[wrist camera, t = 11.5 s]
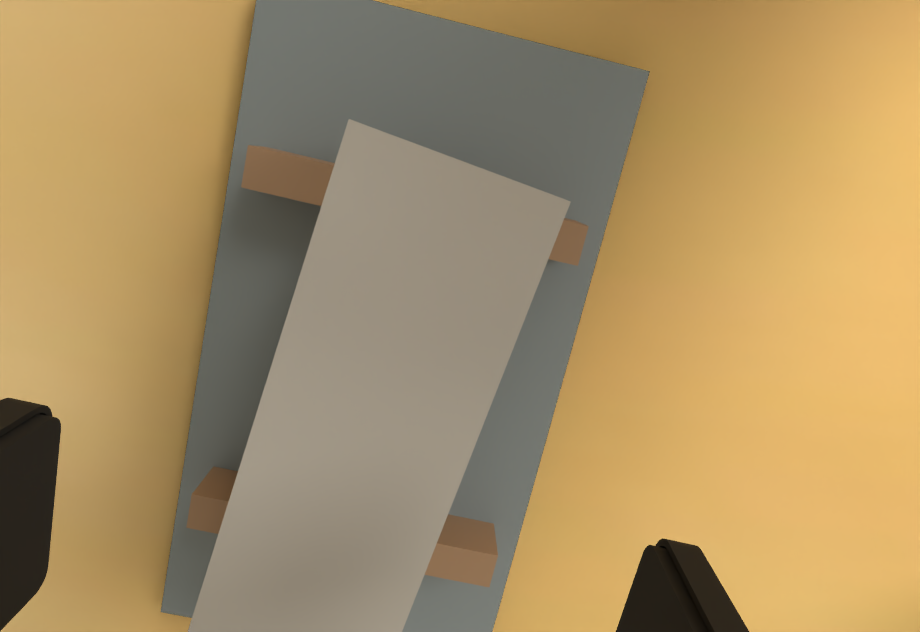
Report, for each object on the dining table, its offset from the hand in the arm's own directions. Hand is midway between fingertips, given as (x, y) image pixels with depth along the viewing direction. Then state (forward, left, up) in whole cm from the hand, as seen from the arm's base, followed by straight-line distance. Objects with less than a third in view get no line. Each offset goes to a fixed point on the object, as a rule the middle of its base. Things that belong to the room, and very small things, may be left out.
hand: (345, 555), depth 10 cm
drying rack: (+1, 0, -13) cm, 13 cm away
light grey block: (+1, 0, -10) cm, 10 cm away
